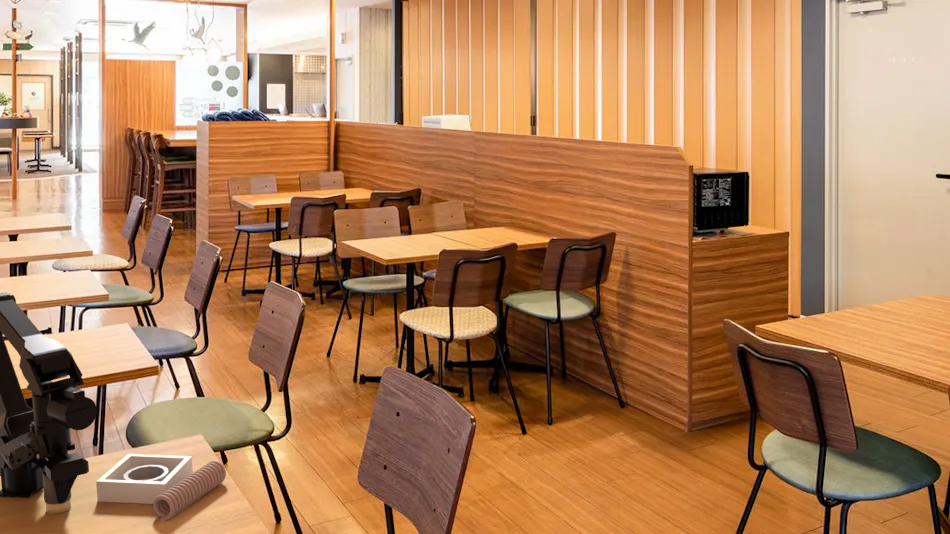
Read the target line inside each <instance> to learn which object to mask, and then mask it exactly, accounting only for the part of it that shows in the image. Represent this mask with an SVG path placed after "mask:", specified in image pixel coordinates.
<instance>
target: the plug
mask: <svg viewBox="0 0 950 534" xmlns="http://www.w3.org/2000/svg"><path fill="white" fill-rule="evenodd" d="M42 472H45V467H44V468H43V469H42ZM42 476H43V487H42V489H43V497H44V500H43V501H44V504H45V508H46V511H45V512H46V513H47V514H50V515H58V514H63V513H66V512H68V511H69V510H70V509H71V508H72V503H71V499H72V490H71V491H70V493H69V495H68V497H67V500H66V502H65V503H62V504H59V503H58V500H57V497H56V493H55V489H54V486H53V482H52V481H51V480H50V479H48V478H46V476H45V475H44V474H43V473H42Z"/></svg>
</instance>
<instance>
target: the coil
mask: <svg viewBox="0 0 950 534" xmlns="http://www.w3.org/2000/svg"><path fill="white" fill-rule="evenodd" d="M226 476H227V471H226V468H225V466H224V465H223V464H222V463H221V461H218V460H211V461H209V462H208V463H206V464H205V465H203V466H202V467H200V468H199V469H197V470H196V471H193V473H192V474H191V475H189V476H188V477H187V478H185V479H183V480H182V481H180V482H179V483H177V484H176V485H174V486H173V487H171V488H170V489H168V490H167V491H165V492H163V493H162V494H160V495H159V496H157V497H156V498H155V499H154V502H153V504H152V506H153V507H152V508H153V510H154V512H155V514H156V515H157V516H159V517H160V521H163V522H167V521H169V520H171V519H172V518H174V517H175V516H176V515H178V514H179V513H181V512H182V511H184V510H185V509H186V508H188V507H189V506H191V505H192V504H193V503H195V502H197V501H198V500H199V499H201V498H202V497H203V496H205V495H206V494H207V493H208V492H210V491H212V490H213V489H215V488H216V487H217V486H219V485H220V484H221V483H223V482H224V481H225V480H226Z"/></svg>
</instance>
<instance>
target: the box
mask: <svg viewBox="0 0 950 534" xmlns="http://www.w3.org/2000/svg"><path fill="white" fill-rule="evenodd" d="M192 473H194V471H193V456H191V455H168V454H167V455H166V454H165V455H164V454H140V453H128V454H126V455H125V456H124V457H123V458H121V460H120V461H118V462H117V463H116V464H115V465H113V467H111V468H110V469H109V470H108V471H107V472H105V474H103V475H102V476H100V477H99V479H97V480H96V486H95V487H96V498H97V499H96V500H97V502H98V503H99V502H100V503H119V504H120V503H122V504H123V503H124V504H125V503H126V504H146V505H147V504H148V505H153V502H154V499H155V498H156V497H157V496H159V495H160V494H162V493H163V492H165V491H167V490H168V489H170V488H171V487H173V486H174V485H176V484H177V483H179V482H180V481H182V480H183V479H185V478H187V477H188V476H189V475H191V474H192Z"/></svg>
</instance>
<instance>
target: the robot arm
mask: <svg viewBox="0 0 950 534" xmlns="http://www.w3.org/2000/svg"><path fill="white" fill-rule="evenodd" d="M3 336H4V337H5V338H6V340H7V341H8V342H9V343H10V345H11V346H12V347H13V348H14V349H15V351H16V352H17V353H18V356H19V357H20V360H19V364H18V365H19V369H20V371H21V372H22V375H23V378H24V379H25V380H26V382H27V383H28V385H27V386H26V389H27V390H28V391H30V392H31V398H32V399H31V401H32V407H31V406H29V405H28V404H27V402H26V399H25V396H24V393H23V390H22V388H21V385H20V382H19V378H18V376H17V373H16V371H15V368H14V364H13V362H12V359H11V355H10V353H9V350H8V347H7V345H6V342H5V339H4V337H3ZM68 376H69V377H68ZM54 380H55V381H54ZM84 384H85V383H84V380H83V373H82V371H81V369H80V367H79V366H78V364H77V362H76V361H75V359H74V357H73V355H72V353H71V352H70V351H69V350H68V348H66V347H65V346H64V345H63V344H62V343H60V342H59V341H58V340H56V339H54V338H50V337H47V336H46V335H44V334H43V333H42V332H41V331H40V330H39V328H37V327H36V325H35V324H34V323H33V322H32V320H31V318H29V317H28V316H27V315H26V313H25V311H23V310H22V308H21V307H20V306H19V305H18V304H17V300H16V297H15V296H14V294H13V293H11V292H10V293H9V292H1V293H0V482H1V483H0V484H1V489H0V497H18V498H20V497H21V498H28V497H31V496H33V495H34V494H35V493H36V492H38V491H39V490H41V489H43V476H42V473H43V474H44V475H45V476H46V478H48V479H50V480H51V481H52V482H53V486H54V489H55V493H56V497H57V500H58V503H59V504H62V503H65V502H66V500H67V497H68V495H69V493H70V491H71V492H72V488H73V486H74V484H75V481H76V479H77V478H78V477H79V476H81V475H85V474H88V473H89V472H90V469H89V468H90V467H89V465H90V464H89V461H88V460H87V459H86V458H85V457H84V456H83V455H81V454H80V453H78V452H72V453H69V451H74V450H76V443H74V442H73V441H72V432H71V430H74V431H82V430H85V429H87V428H89V427H90V426H91V425H92V424H93V423H94V422H95V419H96V418H97V415H98V407H97V405H96V403H95V401H94V400H93V399H92V398H90V397H87V396H86V391H85V390H84V389H82V388H77V387H79V386H83V385H84ZM44 467H45V472H42V469H43V468H44Z"/></svg>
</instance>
